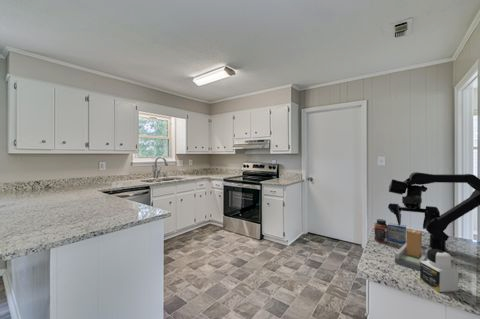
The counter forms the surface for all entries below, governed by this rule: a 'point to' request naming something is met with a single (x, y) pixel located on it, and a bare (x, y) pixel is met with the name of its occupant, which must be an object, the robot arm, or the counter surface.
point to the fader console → (410, 258)
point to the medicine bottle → (439, 271)
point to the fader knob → (414, 243)
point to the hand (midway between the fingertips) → (411, 226)
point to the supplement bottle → (381, 231)
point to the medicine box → (397, 233)
